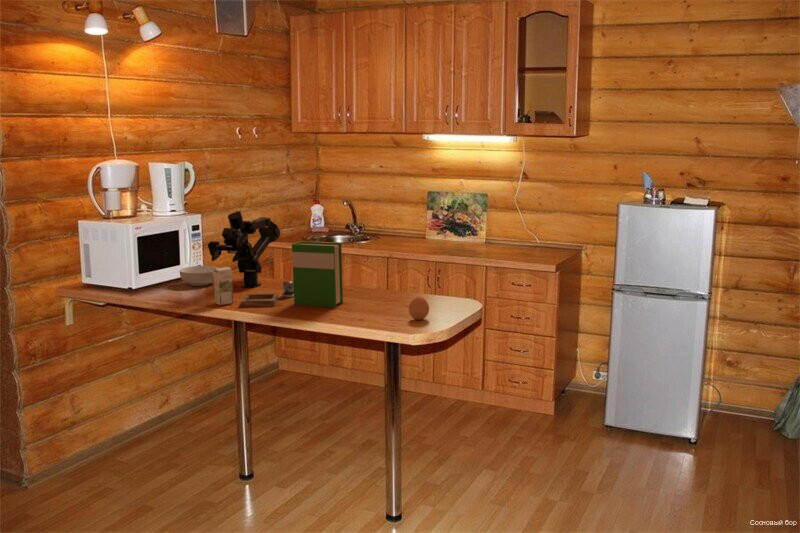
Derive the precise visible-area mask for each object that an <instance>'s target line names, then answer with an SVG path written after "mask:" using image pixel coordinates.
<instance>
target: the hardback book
mask: <svg viewBox="0 0 800 533" xmlns="http://www.w3.org/2000/svg"><path fill="white" fill-rule="evenodd" d="M342 252H343V251H342V242H325V241H323V242H322V241H321V242H320V241H302V240H301V241H300V240H299V241H297V242H295V243H292V244H291V254H292V255H291V258H292V259H291V261H292V281H293V286H294V297H293V303H294V305H296V306H309V307H310V306H311V307H323V308H324V307H325V308H337V306H338V305H339V304H341V305H342V304H344V295H343V294H344V292H343V290H344V288H343V287H344V285H343V282H344V281H343V258H342V257H343V256H342V255H343V254H342Z"/></svg>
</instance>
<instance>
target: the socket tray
mask: <svg viewBox="0 0 800 533" xmlns="http://www.w3.org/2000/svg"><path fill="white" fill-rule="evenodd" d="M278 300H279V293H253V294H252V293H246V294H244V296H243V297H242V300H241V302H240V303H241V304H240V305H241V308H248V307H250V308H251V307H253V308H254V307H255V308H256V307H258V308H260V307H275V306H276V304H277V302H278Z"/></svg>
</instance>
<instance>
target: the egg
mask: <svg viewBox="0 0 800 533" xmlns="http://www.w3.org/2000/svg"><path fill="white" fill-rule="evenodd" d="M408 313H409V315H410V316H411V318H412V319H414V320H416V321H422V320H424V319H426V318H427V316H428V315H429V313H430V306H429V303H428V302H427V300H426V298H424V296H423V297H422V296H419V295H418V296H415V297H413V298H412V299H411V301H410V302H409V305H408Z"/></svg>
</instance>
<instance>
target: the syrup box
mask: <svg viewBox="0 0 800 533" xmlns="http://www.w3.org/2000/svg"><path fill="white" fill-rule="evenodd" d="M212 283H213V284H212V285H213V302H214V304H215V303H216V305H217V304H218V306H220V305H221V306H226V305H231V304H232V305H233V304H234V293H233V292H234V290H233V269H232V268H231V267H229V266H220V267H218V266H217V268H213V282H212Z"/></svg>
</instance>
